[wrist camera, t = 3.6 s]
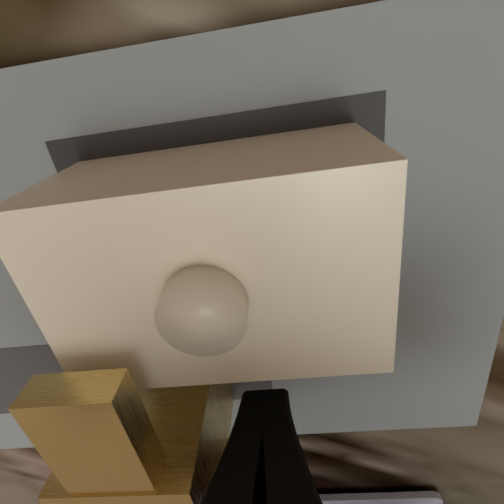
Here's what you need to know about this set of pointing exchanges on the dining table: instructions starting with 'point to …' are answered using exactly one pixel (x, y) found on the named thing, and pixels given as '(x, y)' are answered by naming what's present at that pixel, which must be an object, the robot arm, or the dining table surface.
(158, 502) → the wooden l-shaped block
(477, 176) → the panel
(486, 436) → the dining table surface
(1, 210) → the cover
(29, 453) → the dining table surface
